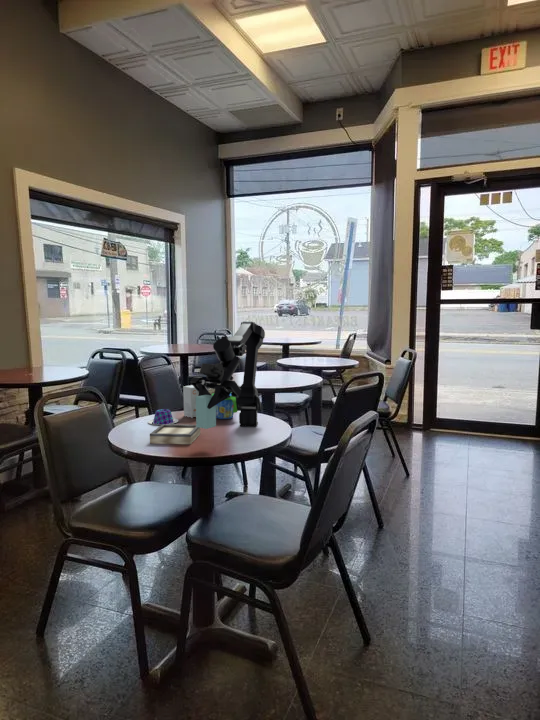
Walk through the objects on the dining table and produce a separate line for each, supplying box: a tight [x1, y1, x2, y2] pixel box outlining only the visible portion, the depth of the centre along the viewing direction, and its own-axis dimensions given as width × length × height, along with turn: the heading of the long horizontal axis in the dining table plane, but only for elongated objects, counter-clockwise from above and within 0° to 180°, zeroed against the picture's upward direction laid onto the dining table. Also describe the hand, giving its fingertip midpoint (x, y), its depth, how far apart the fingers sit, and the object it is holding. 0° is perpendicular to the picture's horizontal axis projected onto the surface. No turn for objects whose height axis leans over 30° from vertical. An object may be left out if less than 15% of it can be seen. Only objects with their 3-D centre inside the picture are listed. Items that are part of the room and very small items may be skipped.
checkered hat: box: [147, 408, 179, 426], centre depth 190 cm, size 12×12×5 cm
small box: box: [182, 384, 199, 419], centre depth 201 cm, size 8×6×13 cm
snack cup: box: [211, 392, 239, 420], centre depth 197 cm, size 16×11×10 cm
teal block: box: [195, 394, 217, 430], centre depth 153 cm, size 4×4×10 cm
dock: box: [149, 423, 201, 445], centre depth 165 cm, size 14×14×3 cm
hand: (202, 407), depth 152 cm, fingers closed on teal block, 4 cm apart
